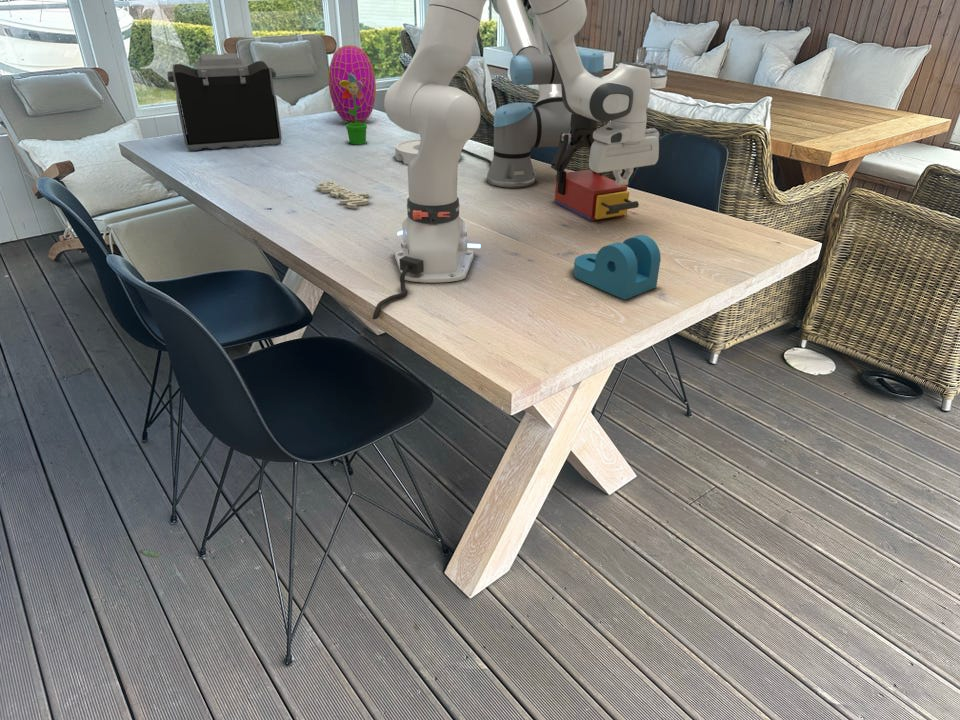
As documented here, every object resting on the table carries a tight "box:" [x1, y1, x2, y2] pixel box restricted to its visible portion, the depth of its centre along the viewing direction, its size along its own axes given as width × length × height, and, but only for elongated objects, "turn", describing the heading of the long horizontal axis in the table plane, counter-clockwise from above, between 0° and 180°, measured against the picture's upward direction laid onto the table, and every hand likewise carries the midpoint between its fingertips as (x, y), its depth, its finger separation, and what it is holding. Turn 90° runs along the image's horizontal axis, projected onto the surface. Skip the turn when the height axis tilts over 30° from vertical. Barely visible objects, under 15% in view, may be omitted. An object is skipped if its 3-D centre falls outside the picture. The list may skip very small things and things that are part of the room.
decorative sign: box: [316, 180, 370, 210], centre depth 205 cm, size 26×1×10 cm
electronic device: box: [166, 52, 283, 152], centre depth 253 cm, size 37×22×30 cm, turn 111°
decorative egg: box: [328, 44, 377, 124], centre depth 286 cm, size 19×19×30 cm
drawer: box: [595, 190, 640, 220], centre depth 191 cm, size 22×10×6 cm, turn 27°
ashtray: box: [394, 138, 462, 166], centre depth 243 cm, size 23×23×4 cm
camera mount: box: [573, 234, 662, 301], centre depth 150 cm, size 18×10×10 cm, turn 39°
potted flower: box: [339, 73, 368, 145], centre depth 255 cm, size 9×8×25 cm
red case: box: [553, 169, 628, 222], centre depth 195 cm, size 19×11×8 cm, turn 27°
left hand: (621, 185), depth 182 cm, fingers closed
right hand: (578, 191), depth 199 cm, fingers closed on red case, 11 cm apart
